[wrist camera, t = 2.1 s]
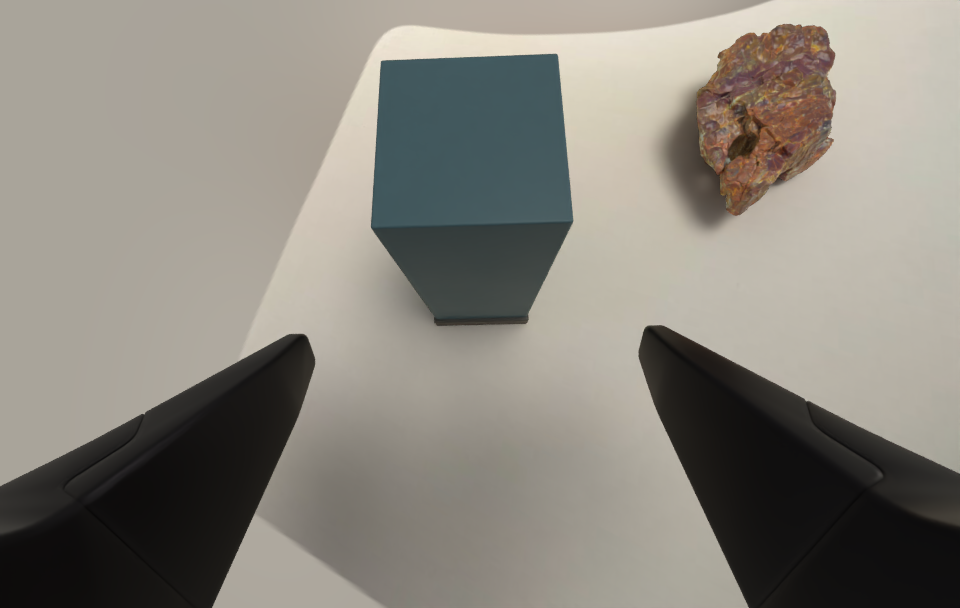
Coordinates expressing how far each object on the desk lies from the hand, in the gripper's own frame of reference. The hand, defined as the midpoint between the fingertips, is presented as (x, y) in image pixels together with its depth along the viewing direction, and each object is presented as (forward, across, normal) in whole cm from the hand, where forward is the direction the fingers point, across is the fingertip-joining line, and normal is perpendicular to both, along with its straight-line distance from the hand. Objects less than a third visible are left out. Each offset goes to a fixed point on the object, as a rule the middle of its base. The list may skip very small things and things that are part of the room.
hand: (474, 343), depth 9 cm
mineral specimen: (+19, -18, -2) cm, 26 cm away
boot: (+14, 0, +3) cm, 14 cm away
